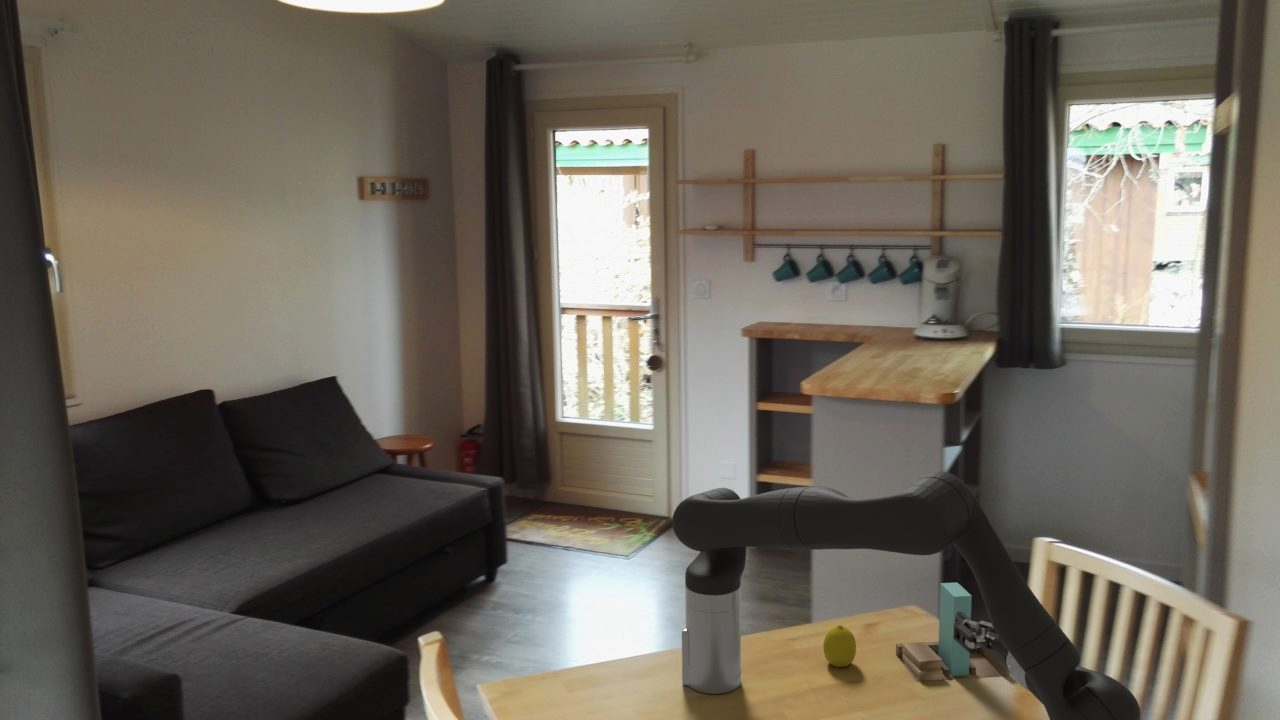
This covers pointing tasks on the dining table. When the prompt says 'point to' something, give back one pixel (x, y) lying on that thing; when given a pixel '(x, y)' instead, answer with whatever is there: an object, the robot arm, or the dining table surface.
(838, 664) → the lemon
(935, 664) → the offcut upper
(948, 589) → the teal rectangular block
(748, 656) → the dining table surface
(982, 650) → the rack
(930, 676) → the offcut lower
